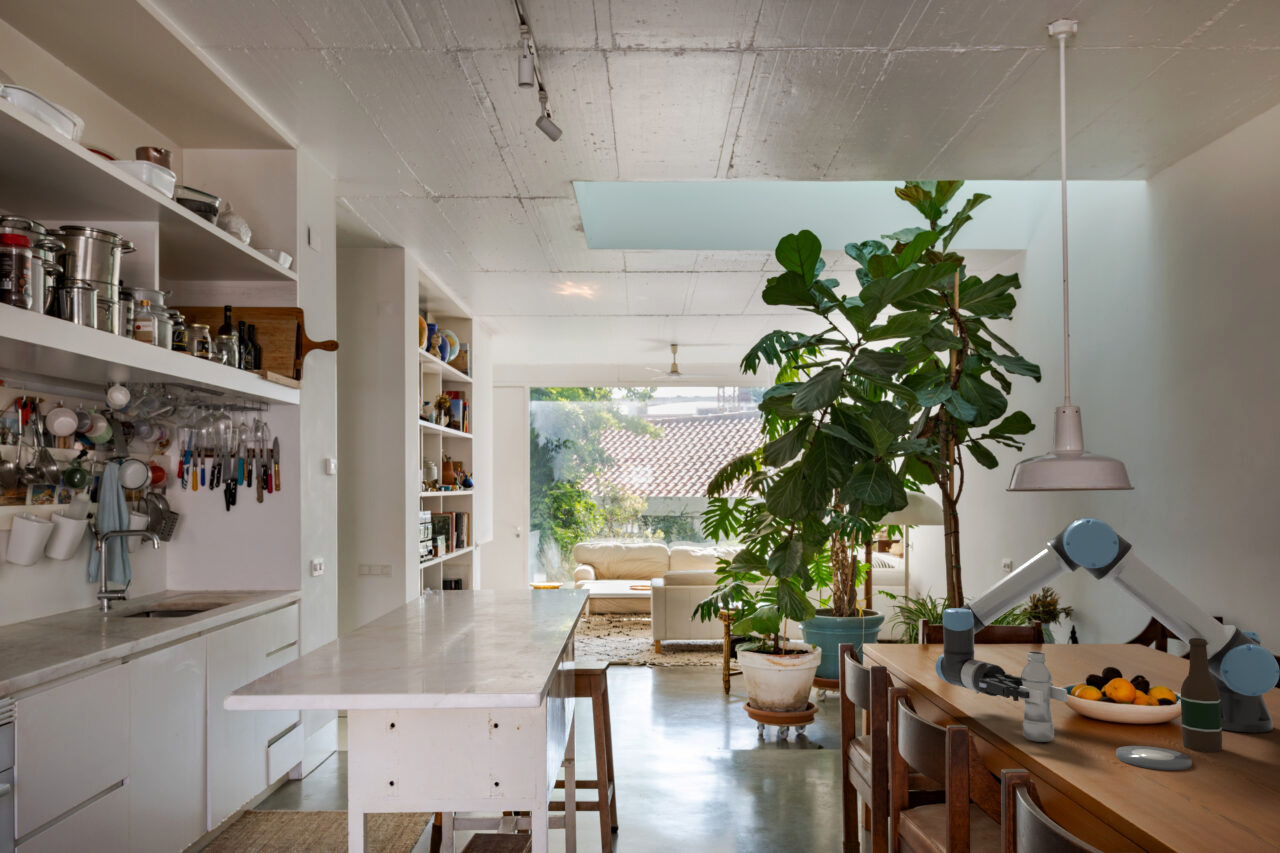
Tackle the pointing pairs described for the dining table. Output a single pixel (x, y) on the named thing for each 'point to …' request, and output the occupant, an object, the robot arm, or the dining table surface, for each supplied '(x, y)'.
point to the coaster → (1153, 758)
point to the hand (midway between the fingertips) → (1053, 697)
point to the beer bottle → (1200, 703)
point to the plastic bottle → (1036, 715)
